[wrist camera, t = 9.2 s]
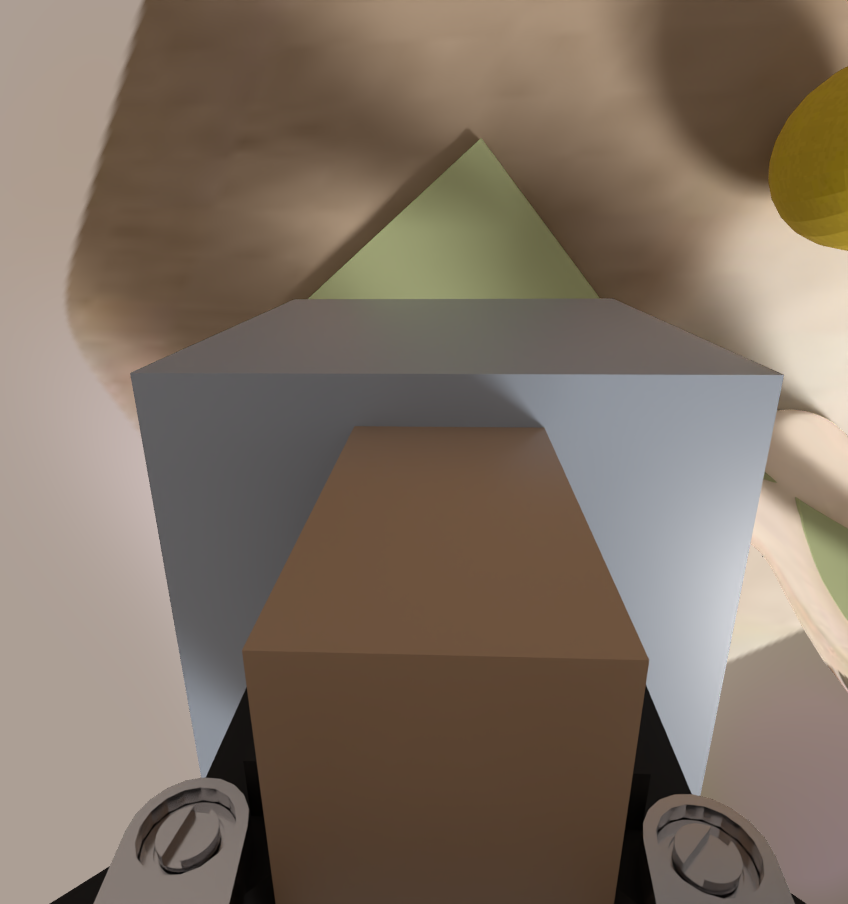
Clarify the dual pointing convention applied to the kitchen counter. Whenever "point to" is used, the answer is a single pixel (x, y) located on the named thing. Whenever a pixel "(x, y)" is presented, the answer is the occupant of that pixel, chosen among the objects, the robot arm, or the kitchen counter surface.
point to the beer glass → (809, 528)
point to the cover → (453, 577)
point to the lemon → (815, 165)
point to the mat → (463, 245)
